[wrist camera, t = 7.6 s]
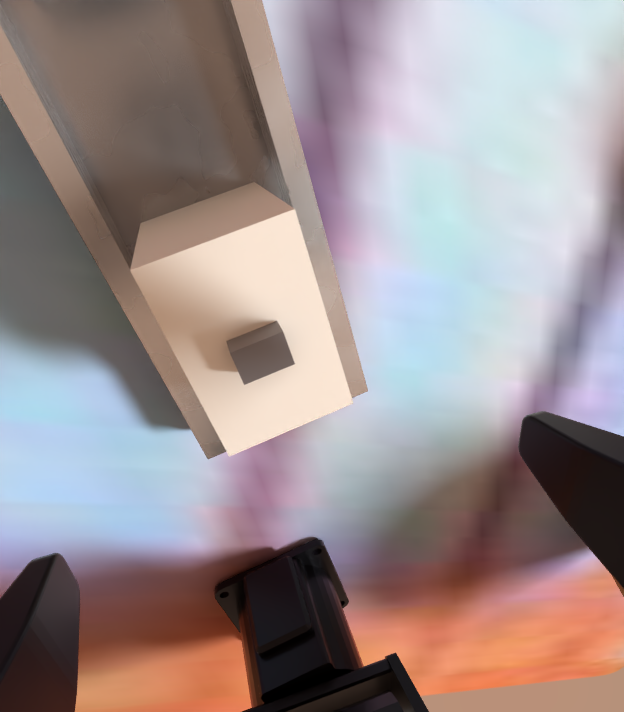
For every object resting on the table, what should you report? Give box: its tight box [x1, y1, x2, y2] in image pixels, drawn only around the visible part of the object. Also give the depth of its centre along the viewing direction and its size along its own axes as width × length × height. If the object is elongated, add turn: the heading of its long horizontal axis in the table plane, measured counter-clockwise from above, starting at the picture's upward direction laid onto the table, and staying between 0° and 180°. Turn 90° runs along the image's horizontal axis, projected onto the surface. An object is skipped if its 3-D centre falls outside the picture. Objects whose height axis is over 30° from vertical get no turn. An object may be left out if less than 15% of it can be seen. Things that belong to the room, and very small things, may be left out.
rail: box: [0, 0, 368, 459], centre depth 12 cm, size 20×8×7 cm, turn 17°
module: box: [130, 182, 353, 456], centre depth 14 cm, size 6×4×6 cm, turn 17°
